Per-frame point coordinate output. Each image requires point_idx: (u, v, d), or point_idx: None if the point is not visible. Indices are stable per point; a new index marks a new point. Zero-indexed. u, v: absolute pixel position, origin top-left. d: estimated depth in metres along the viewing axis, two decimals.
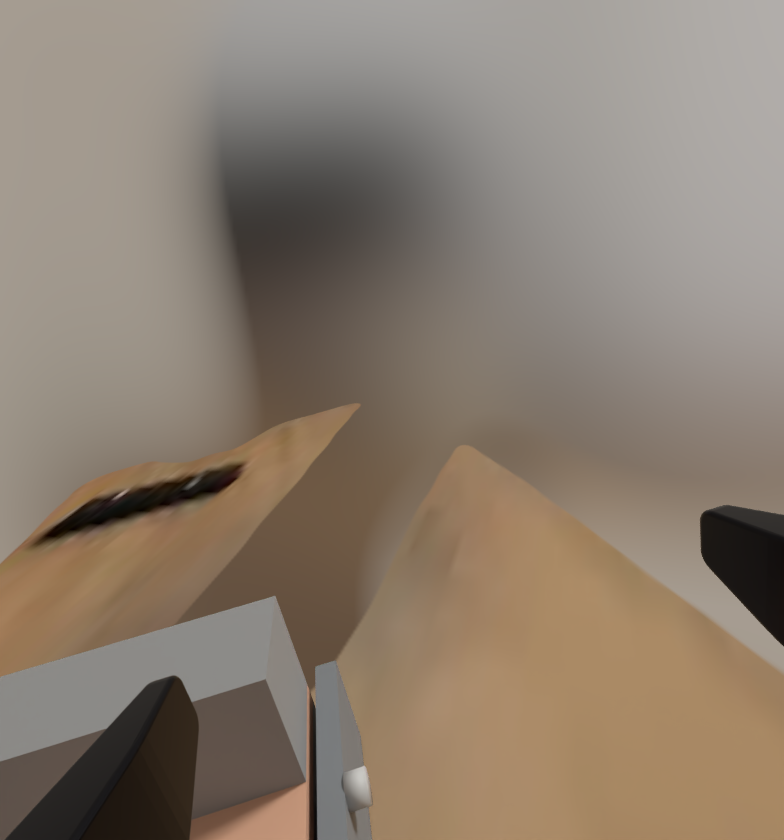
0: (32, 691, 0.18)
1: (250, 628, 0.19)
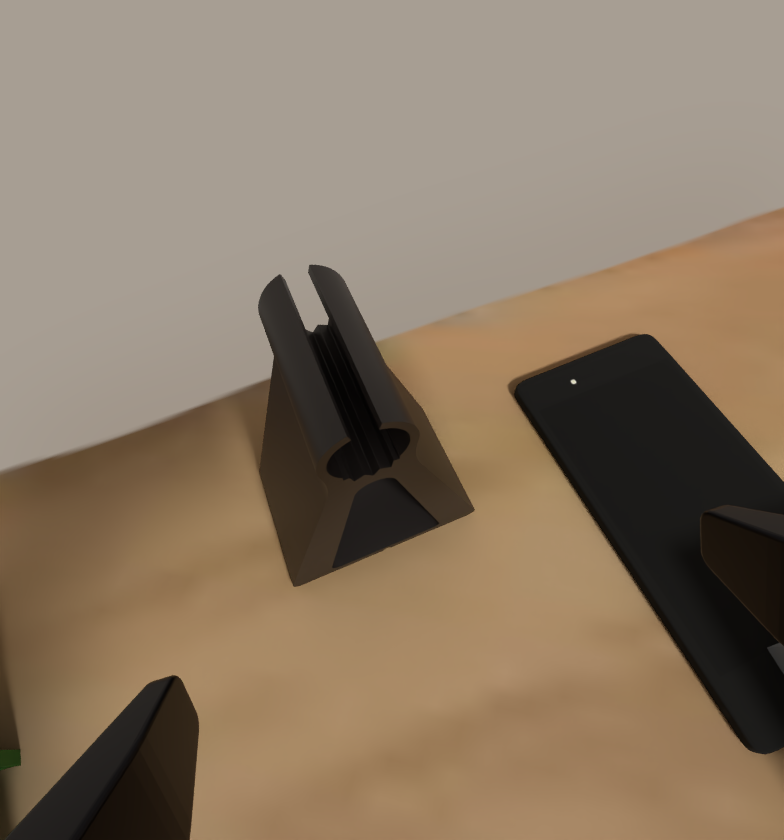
0: None
1: None
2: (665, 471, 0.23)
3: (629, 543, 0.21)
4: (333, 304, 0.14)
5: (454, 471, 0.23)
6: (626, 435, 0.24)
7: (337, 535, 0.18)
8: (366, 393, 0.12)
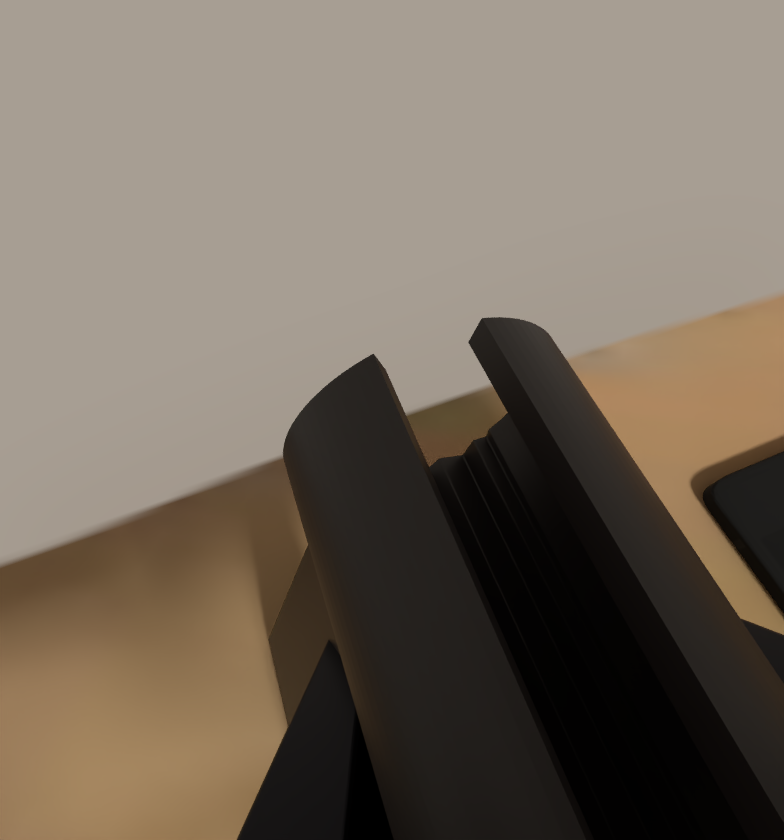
0: None
1: None
2: None
3: None
4: (620, 511, 0.03)
5: None
6: None
7: None
8: None
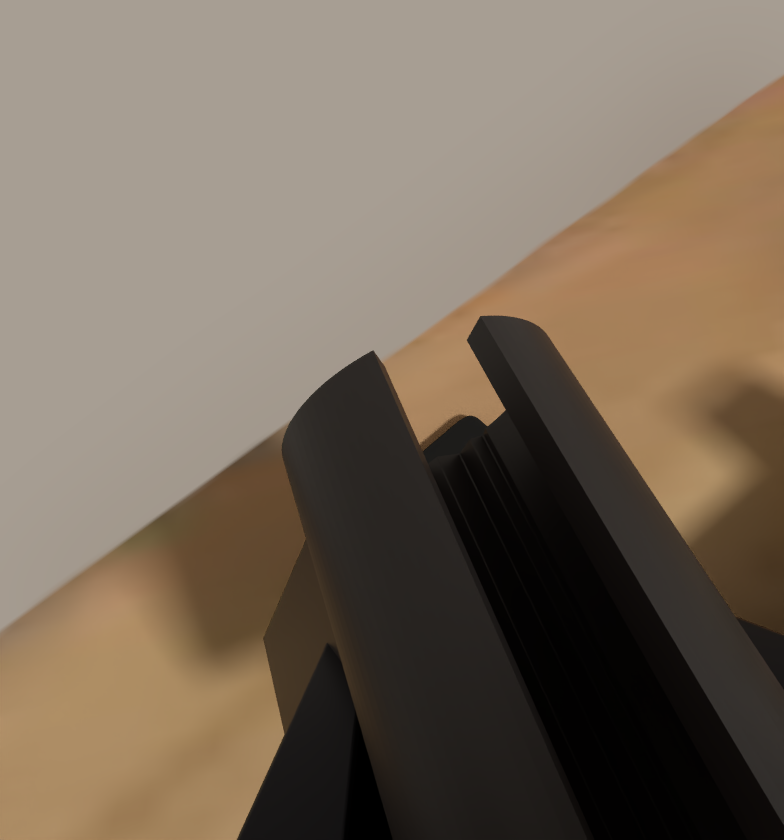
0: None
1: None
2: None
3: None
4: (615, 506, 0.03)
5: None
6: None
7: None
8: None
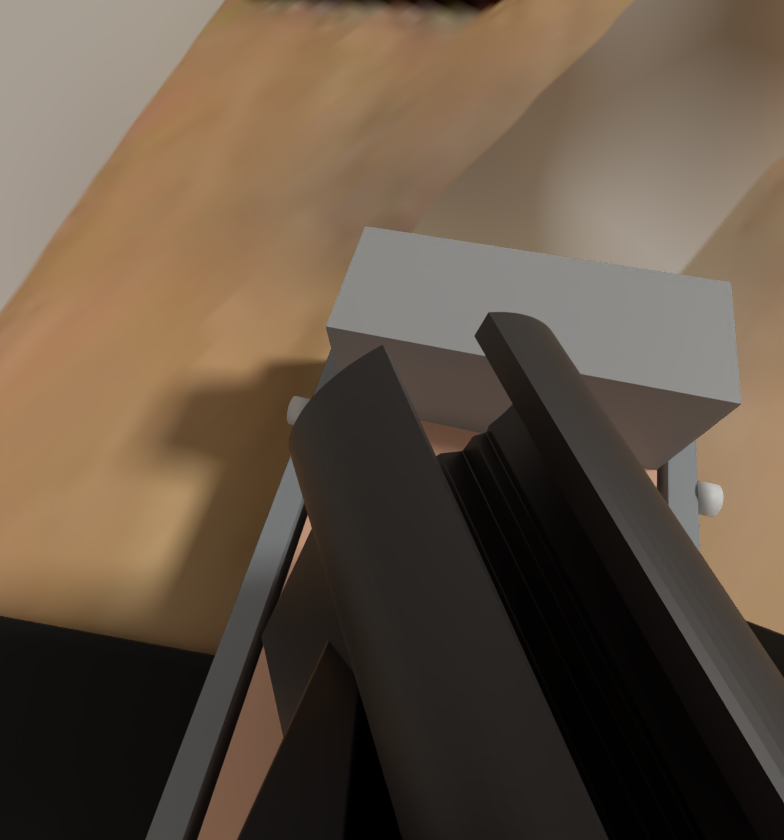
0: (432, 269, 0.16)
1: (703, 318, 0.14)
2: (3, 764, 0.18)
3: None
4: (622, 499, 0.03)
5: None
6: None
7: None
8: None
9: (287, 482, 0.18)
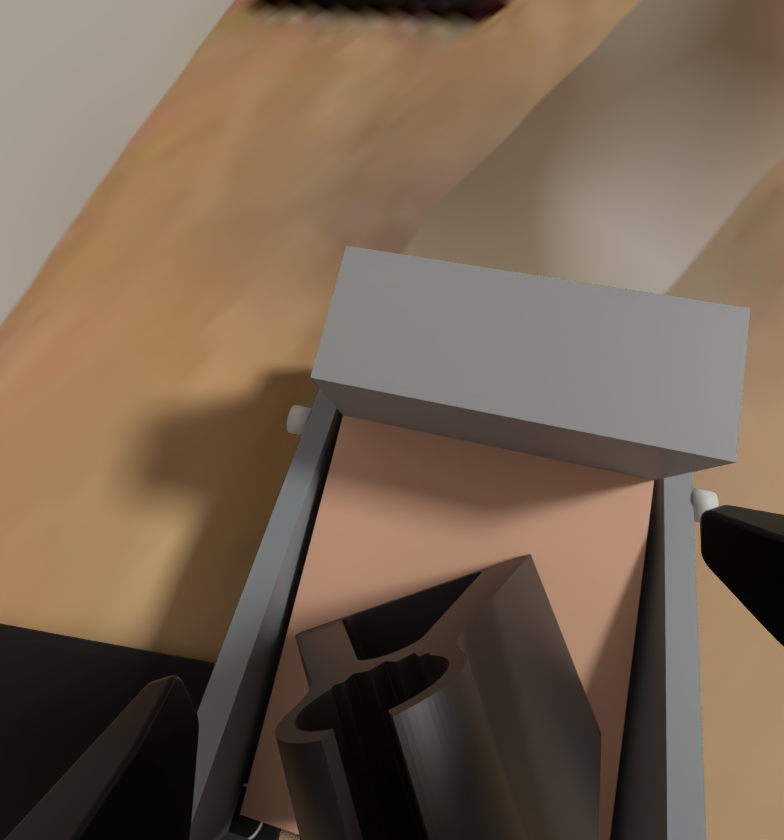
0: (419, 301, 0.15)
1: (711, 357, 0.13)
2: (4, 772, 0.18)
3: None
4: None
5: (575, 671, 0.16)
6: None
7: None
8: None
9: (287, 491, 0.18)
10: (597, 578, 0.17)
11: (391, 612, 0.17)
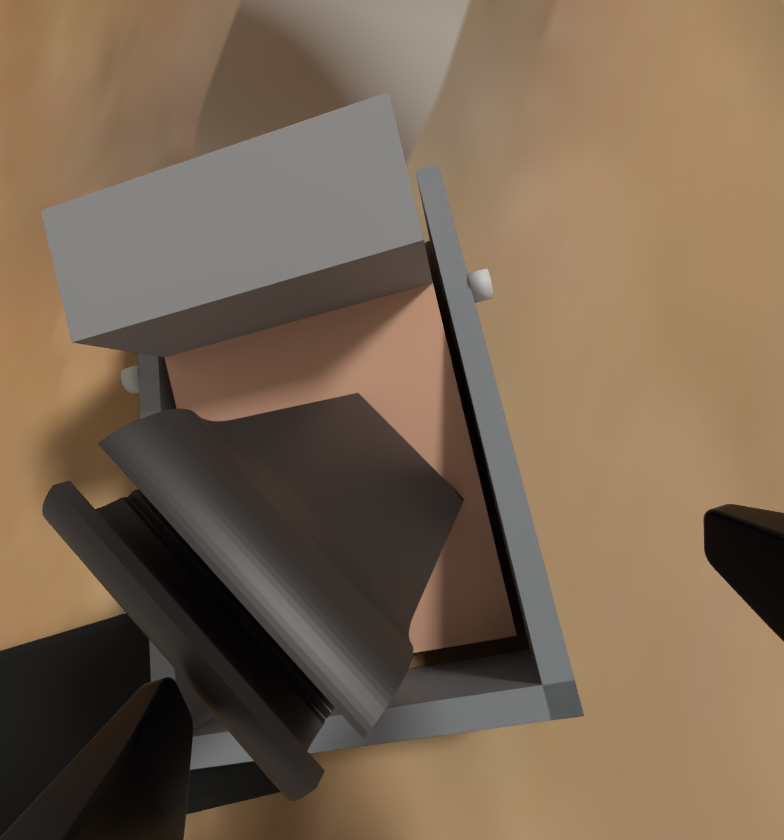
0: (122, 230, 0.15)
1: (372, 155, 0.14)
2: (68, 738, 0.22)
3: None
4: (181, 516, 0.07)
5: (426, 463, 0.18)
6: (26, 761, 0.22)
7: None
8: (314, 682, 0.07)
9: None
10: (419, 387, 0.19)
11: None
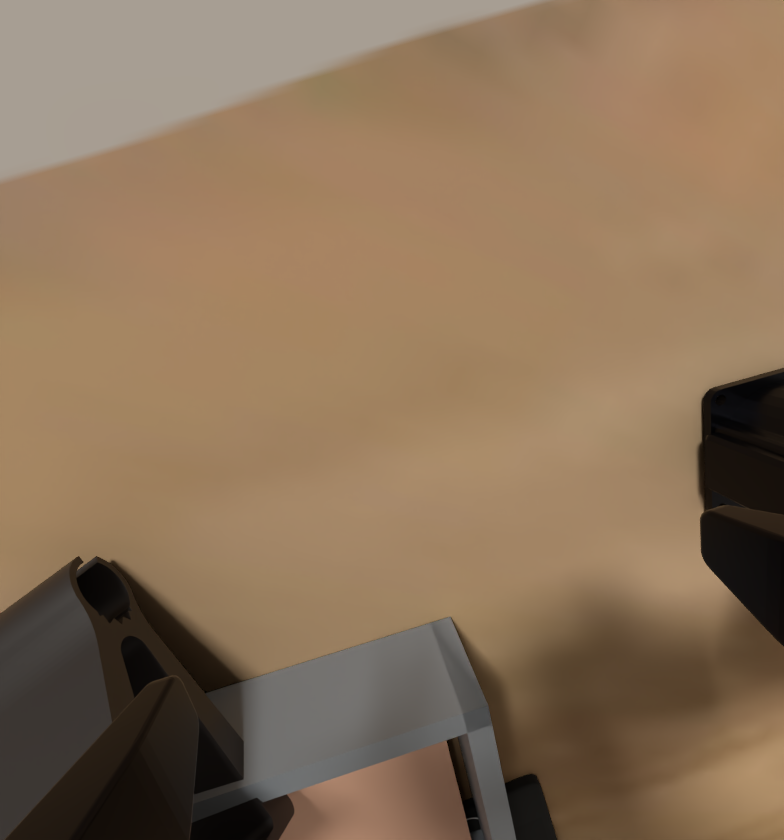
0: None
1: None
2: None
3: None
4: None
5: None
6: None
7: None
8: None
9: None
10: None
11: None
